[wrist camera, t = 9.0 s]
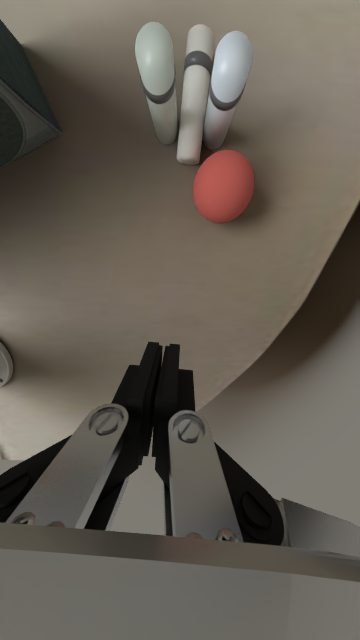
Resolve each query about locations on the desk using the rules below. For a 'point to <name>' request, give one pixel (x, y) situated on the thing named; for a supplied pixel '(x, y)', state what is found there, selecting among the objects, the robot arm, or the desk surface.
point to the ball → (223, 186)
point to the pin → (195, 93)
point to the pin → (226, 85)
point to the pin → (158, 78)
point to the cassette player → (21, 104)
